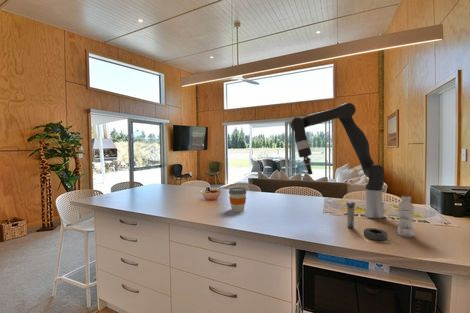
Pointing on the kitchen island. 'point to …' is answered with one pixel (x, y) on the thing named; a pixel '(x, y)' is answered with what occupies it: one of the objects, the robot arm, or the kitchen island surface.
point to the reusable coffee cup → (237, 198)
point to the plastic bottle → (405, 217)
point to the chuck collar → (375, 234)
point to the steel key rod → (350, 215)
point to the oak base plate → (376, 241)
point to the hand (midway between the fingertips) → (310, 174)
